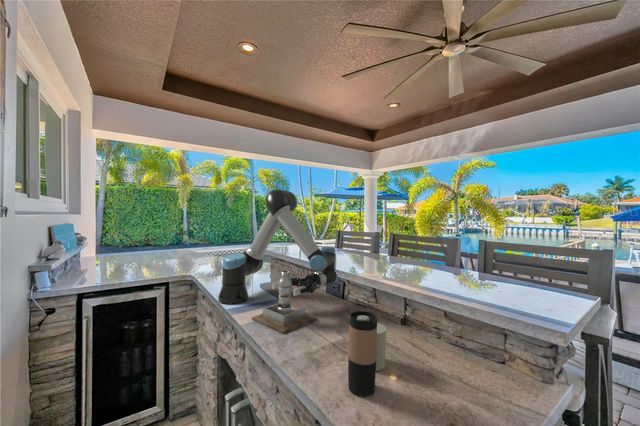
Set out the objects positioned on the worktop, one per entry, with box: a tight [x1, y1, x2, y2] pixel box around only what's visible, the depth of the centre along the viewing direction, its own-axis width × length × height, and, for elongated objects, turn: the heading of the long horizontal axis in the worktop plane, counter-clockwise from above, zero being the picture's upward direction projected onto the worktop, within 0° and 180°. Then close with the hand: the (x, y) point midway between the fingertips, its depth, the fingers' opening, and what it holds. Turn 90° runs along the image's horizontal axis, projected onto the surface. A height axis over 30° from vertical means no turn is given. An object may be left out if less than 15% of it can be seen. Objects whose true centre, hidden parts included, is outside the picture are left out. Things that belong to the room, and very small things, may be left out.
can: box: [376, 322, 387, 372], centre depth 89 cm, size 9×9×12 cm
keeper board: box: [251, 307, 317, 335], centre depth 122 cm, size 20×20×1 cm
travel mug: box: [347, 310, 378, 398], centre depth 76 cm, size 8×8×20 cm
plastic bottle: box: [277, 270, 293, 315], centre depth 122 cm, size 6×7×20 cm
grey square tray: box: [262, 303, 306, 326], centre depth 122 cm, size 13×13×4 cm
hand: (283, 289), depth 121 cm, fingers open, 13 cm apart
